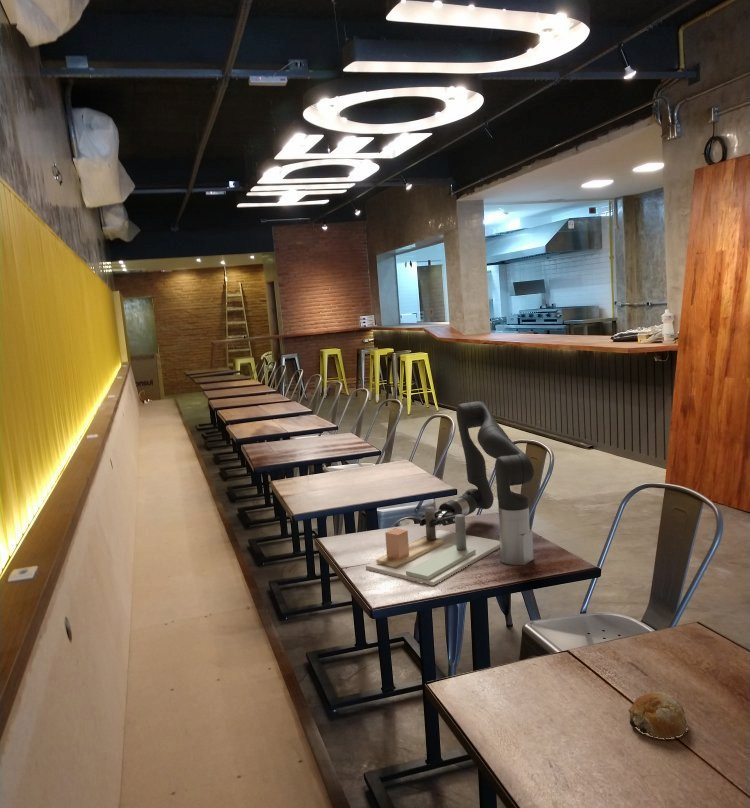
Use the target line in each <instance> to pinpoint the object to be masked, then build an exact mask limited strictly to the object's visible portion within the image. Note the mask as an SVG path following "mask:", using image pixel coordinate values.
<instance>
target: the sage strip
mask: <svg viewBox="0 0 750 808" xmlns="http://www.w3.org/2000/svg"><path fill="white" fill-rule="evenodd" d="M454 526H455V533H456V545H454V546H452V547H450V548H448V549H446V550H445V551H443V552H441V553H439V554H437V555H435V556H433V557H431V558H429V559H428V560H426V561H424V562H422V563H420V564H418V565H416V566H414V567H412V568H411V569H409V570H407V571H406V575H409V576H413V577H417V578H421V579H425V580H429V579H431V578H433V577H434V576H436V575H438V574H440V573H441V572H443V571H445V570H447V569H448V568H450V567H452V566H454V565H455V564H457V563H459V562H461V561H462V560H464V559H466V558H468V557H470V556H471V555H473V554H475V553H476V549H471V548H467V547H466V535H467V531H466V516H465V515H462V514H458V515H455V523H454Z"/></svg>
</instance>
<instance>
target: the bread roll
mask: <svg viewBox="0 0 750 808" xmlns="http://www.w3.org/2000/svg"><path fill="white" fill-rule="evenodd" d="M631 705H632V706H631V707H630V708H629V709H628V712H629V725H630V726H631V727H632V728H634V727H637V728H638V729H640V731H641V732H643V733H648V734H649V735H650V736H653V737H658V738H664V739H666V738H671V737H676V736H680V735H682V734H684V733H685V732H686V731H687V730H686V728H687V727H688V725H687V720H686V713H685V710H684V706H683V705H682V703H681V702H680V701H679V700H678V699H677V698H676V697H674V696H673V695H671V694H668V693H667V692H665V691H651V692H648V693H644V694H643V695H641V696H639V697H637V698H636V699H635V700H634V702H632V704H631ZM686 726H687V727H686ZM685 734H686V733H685ZM685 734H684V735H685Z"/></svg>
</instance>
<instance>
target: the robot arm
mask: <svg viewBox="0 0 750 808" xmlns="http://www.w3.org/2000/svg"><path fill="white" fill-rule="evenodd" d="M455 413H456V414H455V415H456V421H457V426H458V432H459V436H460V441H461V446H462V449H463V454H464V458H465V459H464V460H465V466H466V468H465V469H466V477H467V482H468V483H469V484H471V485H473V486H475V487H476V488H468V489H467V490H465V491H464V493H463V494H462V495H460V496H459V497H456V498H452V499H450V500H448V501H446V502H443V503H441V504H440V505H439V507H438V508H437V509H436V510H434V513H435V519H433V520H431V521H429V527H430V528H432V527H434V526H435V527H436V526H441V525H442V526H444V527H446V526H449V525H453V524H454V525H455V515H458V514H462V515H465V517H467V516H469V515H471V514H473V513H474V512H475V511H476V509H480V510H489V509H491V507H492V506H493V503H494V499H495V498H494V493H493V490H492V488H491V485H490V482H489V480H488V478H487V465H486V460H485V457H484V456H483V454H482V452H481V450H479V448H478V447H477V446H476V444H475V442H474V441H473V440H472V437H471V435H470V433H469V429H472V428H473V429H474V428H479V430H478V432H477V441H478V444H479V446H480V447H481V448H482V450H483V452H484V453H486V454H487V455H488V456H490V457H491V458H494V459H495V461H494V462H495V464H494V472H495V474H494V475H495V483H496V495H497V496H496V497H497V505H498V507H497V508H498V527H499V528H498V530H499V533H498V534H499V541H500V548H499V550H500V552H499V554H500V561H501V563H503V564H507V565H513V566H516V565H517V566H519V565H520V566H525V565H527V564H529V563H530V562H531V561H533V560H534V541H533V540H534V539H533V538H534V537H533V530H532V529H530V508H529V507H530V505H529V504H530V503H529V497H527V496H526V495H524V494H521V493H516V492H514V491H512V490H511V487H512V486H519V485H520V486H521V485H526V484H529V483H530V482H531V481H532V480H533V478H534V476H535V471H534V466H533V463H532V461H531V459H530V457H528V455H527V454H526V453H525V452H523V450H521V449H520V448H519V447H518V446H517V445H516V444H515V443H514V442H513V440H511V438H509V436H508V435H507V433H506V431H504V429H503V428H502V427H501V426H500V425H499V423H498V422H497V421H496V420H495V418H494V416H493V414H492V413H491V411H490V409H489V408H488V405H486V403H485V402H484V401H479V400H478V401H471V402H463V403H459V404H458V405H457V407H456V412H455ZM419 526H420V527H423V526H426V523H425V511H423V512H422V514H421V518H420V519H419Z"/></svg>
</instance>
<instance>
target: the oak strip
mask: <svg viewBox="0 0 750 808" xmlns="http://www.w3.org/2000/svg"><path fill="white" fill-rule="evenodd" d="M434 511H435V507H434V506H425V507H424V512H425V523H426V525H425V535H424V536H422V537H420V538H418V539H416V540H414V541H412V542H408V545H409V555H408V556H406V557H404V558H402V559H400V560H398V559H394V558H389V557H387V554H384V555H383V556H380V557H378V558H377V559H375V561H376V563H378V564H382V565H386V566H390V567H394V568H397V567H399V566H401V565H403V564H405V563H407V562H409V561H411V560H413V559H415V558H417V557H419V556H421V555H423V554H424V553H426V552H428V551H430V550H432V549H434V548H436V547H438V546H440V545H442V544H444V543H445V540H444V539H439V538H436V531H437V529H436V526H434V527H432V528H430V527H429V521H431V520H433V519H435V513H434Z"/></svg>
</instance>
